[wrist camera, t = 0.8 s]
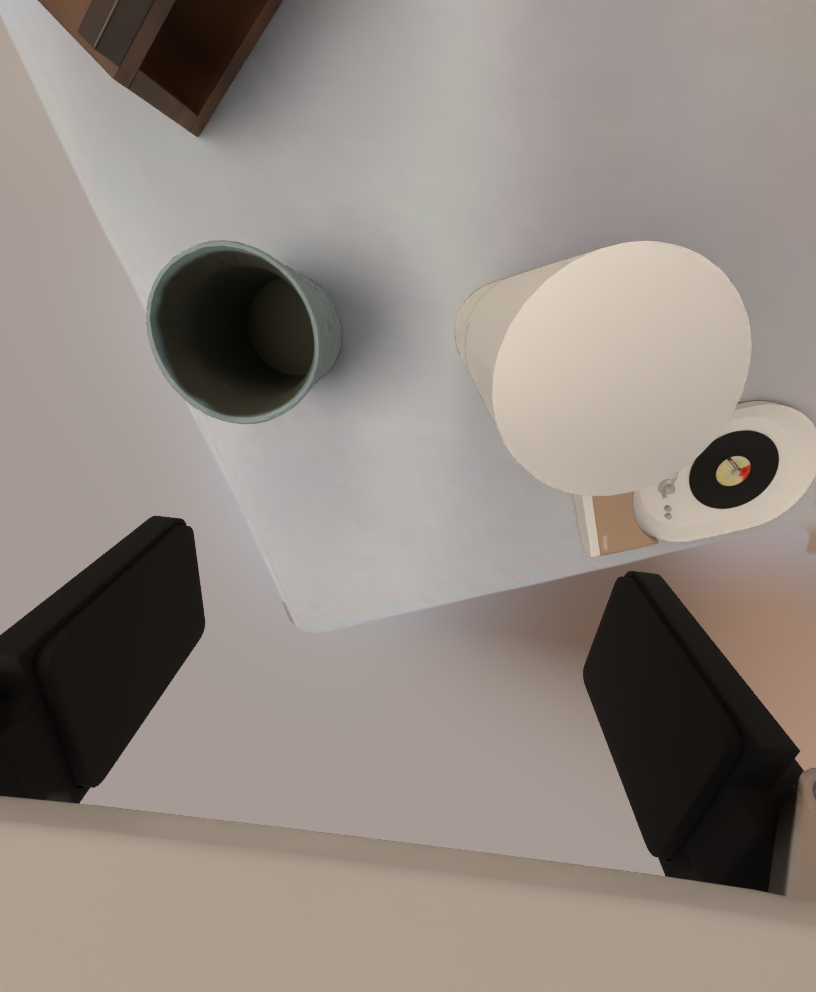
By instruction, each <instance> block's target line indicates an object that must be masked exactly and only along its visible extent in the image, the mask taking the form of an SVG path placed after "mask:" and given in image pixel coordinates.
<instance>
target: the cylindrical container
mask: <svg viewBox="0 0 816 992" xmlns="http://www.w3.org/2000/svg"><path fill="white" fill-rule="evenodd" d="M455 339H456V345H457V347H458V350H459V353H460V355H461V357H462V359H463V361H464V362H465V365H466V367H467V369H468V371H469V373H470V375H471V377H472V379H473V381H474V383H475V385H476V387H477V389H478V391H479V393H480V395H481V397H482V399H483V401H484V403H485V405H486V407H487V409H488V411H489V413H490V415H491V417H492V419H493V421H494V423H495V425H496V427H497V429H498V431H499V433H500V435H501V437H502V440H503V441H504V443H505V444H506V446H507V448H508V449H509V451H510V452H511V454H512V455H513V457H514V458H515V460H516V461H517V462H518V463H519V464H520V465H521V466H523V467H524V468H525V469H526V470H527V471H528V472H529V473H530V474H531V475H532V476H534V477H536V478H537V479H539V480H541V481H542V482H544V483H545V484H547V485H549V486H551V487H554V488H557V489H560V490H562V491H565V492H568V493H574V494H580V495H586V496H611V495H617V494H623V493H629V492H633V491H636V490H639V489H642V488H645V487H648V486H651V485H654V484H656V483H658V482H660V481H661V480H663V479H665V478H667V477H669V476H671V475H673V474H675V473H676V472H678V471H679V470H681V469H682V468H683V467H685V466H686V465H687V464H689V463H690V462H691V461H693V460H694V459H695V458H697V457H698V456H699V455H700V454H701V453H702V452H703V451H704V450H705V449H706V448H707V447H708V446H709V445H710V444H711V443H712V441H713V440H714V439H715V438H716V437H717V436H718V435H719V433H720V432H721V430H722V429H723V427H724V426H725V425H726V423H727V422H728V420H729V419H730V417H731V416H732V414H733V412H734V410H735V408H736V406H737V404H738V402H739V400H740V397H741V395H742V393H743V390H744V387H745V383H746V380H747V376H748V373H749V368H750V358H751V347H752V341H751V333H750V325H749V318H748V315H747V312H746V310H745V307H744V305H743V302H742V299H741V297H740V294H739V292H738V291H737V290H736V288H735V287H734V285H733V284H732V283H731V281H730V280H729V279H728V277H727V276H726V275H725V273H724V272H723V271H722V270H721V269H719V268H718V267H717V266H715V265H714V264H713V263H712V262H710V261H709V260H708V259H707V258H705V257H704V256H703V255H700V254H698V253H696V252H693V251H691V250H689V249H686V248H684V247H682V246H679V245H674V244H668V243H663V242H657V241H640V242H626V243H621V244H617V245H613V246H609V247H605V248H601V249H597V250H594V251H591V252H588V253H585V254H582V255H578V256H575V257H572V258H569V259H566V260H563V261H559V262H556V263H553V264H550V265H547V266H543V267H540V268H537V269H534V270H531V271H528V272H524V273H521V274H518V275H515V276H512V277H509V278H505V279H502V280H499V281H496V282H493V283H490V284H487V285H485V286H483V287H481V288H479V289H478V290H476V291H475V292H474V293H472V294H471V295H470V296H469V298H468V299H467V300H466V301H465V302H464V304H463V306H462V307H461V309H460V311H459V314H458V316H457V320H456V325H455Z"/></svg>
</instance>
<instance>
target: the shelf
mask: <svg viewBox="0 0 816 992" xmlns="http://www.w3.org/2000/svg"><path fill="white" fill-rule="evenodd" d="M38 1H39V2H40V3H41V4H42V5H43V6H44V7H45V8H46V9H47V10H48V11H49V12H50V13H51V14H52V15H53V16H54V18H55V19H56V20H57V21H58V22H59V23H60V24H61V25H62V26H63V27H64V28H65V29H66V30H67V31H68V32H69V33H70V34H71V35H72V36H73V37H74V38H75V39H76V40H77V41H78V43H79V44H80V45H81V46H82V47H83V48H84V49H85V50H86V51H87V52H88V53H89V54H90V55H91V56H92V57H93V58H94V59H95V60H96V61H97V62H98V63H99V64H100V65H101V66H102V68H103V69H104V70H105V71H106V72H107V73H108V74H109V75H110V76H111V77H112V78H113V79H114V80H116V81H117V82H119V83H120V84H122V85H123V86H124V87H126V88H128V89H129V90H131V91H132V92H133V93H135V94H136V95H138V96H139V97H141V98H142V99H143V100H145V101H146V102H148V103H149V104H151V105H152V106H153V107H155V108H156V109H158V110H159V111H161V112H162V113H164V114H165V115H166V116H168V117H169V118H171V119H172V120H174V121H175V122H176V123H178V124H179V125H181V126H182V127H184V128H185V129H186V130H188V131H189V132H191V133H192V134H194V135H195V136H197V137H198V136H199V134H200V132H201V131H202V129H203V128H204V126H205V124H206V123H207V121H208V120H209V118H210V116H211V115H212V113H213V111H214V110H215V108H216V107H217V105H218V103H219V102H220V100H221V99H222V97H223V95H224V94H225V92H226V91H227V89H228V87H229V86H230V84H231V82H232V81H233V79H234V78H235V76H236V74H237V73H238V71H239V70H240V68H241V66H242V65H243V63H244V61H245V60H246V58H247V57H248V55H249V53H250V52H251V50H252V49H253V47H254V45H255V44H256V42H257V41H258V39H259V37H260V36H261V34H262V32H263V31H264V29H265V28H266V26H267V24H268V23H269V21H270V20H271V18H272V16H273V15H274V13H275V12H276V10H277V8H278V7H279V5H280V3H281V2H282V0H38Z"/></svg>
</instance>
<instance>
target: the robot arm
mask: <svg viewBox="0 0 816 992" xmlns="http://www.w3.org/2000/svg"><path fill="white" fill-rule="evenodd" d="M196 556H197V555H196V548H195V540H194V533H193V530H192V528H191V527H190V526H186V523H185V521H184V520H183V519H180V518H171V517H162V516H153V517H151V518H149V519H148V520H147V521H145V522H144V523H143V524H142V525H141V526H139V527H138V528H136V529H135V530H134V531H133V532H132V533H130V534H129V535H128V536H126V537H125V538H124V539H122V540H121V541H120V542H119V543H118V544H116V545H115V546H114V547H112V548H111V549H110V550H109V551H107V552H106V553H105V554H103V555H102V556H101V557H100V558H98V559H97V560H96V561H95V562H93V563H92V564H91V565H89V566H88V567H87V568H86V569H84V570H83V571H82V572H80V573H79V574H78V575H77V576H75V577H74V578H73V579H72V580H70V581H69V582H68V583H66V584H65V585H64V586H63V587H61V588H60V589H59V590H57V591H56V592H55V593H54V594H53V595H51V596H50V597H49V598H47V599H46V600H45V601H43V602H42V603H41V604H40V605H38V606H37V607H36V608H34V609H33V610H32V611H31V612H29V613H28V614H27V615H26V616H24V617H23V618H22V619H21V620H19V621H18V622H17V623H15V624H14V625H13V626H12V627H10V628H9V629H8V630H6V631H5V632H4V633H3V634H1V635H0V992H816V768H811V769H808V770H806V771H804V770H803V769H802V768H801V766H800V765H799V764H798V762H796V760H795V757H796V756H797V754H798V753H799V752H800V751H799V749H798V748H797V746H796V745H795V744H794V743H793V741H792V740H791V739H790V738H789V736H788V735H787V734H786V733H785V731H784V730H783V729H782V728H781V726H780V725H779V724H778V722H777V721H776V720H775V719H774V718H773V716H772V715H771V714H770V712H769V711H768V710H767V709H766V707H765V706H764V705H763V704H762V702H761V701H760V700H759V699H758V697H757V696H756V695H755V694H754V692H753V691H752V690H751V689H750V687H749V686H748V685H747V684H746V682H745V681H744V680H743V679H742V677H741V676H740V675H739V674H738V672H737V671H736V670H735V668H734V667H733V666H732V665H731V663H730V662H729V661H728V660H727V658H726V657H725V656H724V655H723V653H722V652H721V651H720V650H719V649H718V647H717V646H716V645H715V643H714V642H713V641H712V640H711V639H710V637H709V636H708V635H707V633H706V632H705V631H704V630H703V628H702V627H701V626H700V625H699V623H698V622H697V621H696V619H695V618H694V617H693V616H692V614H691V613H690V612H689V611H688V610H687V608H686V607H685V606H684V604H683V603H682V602H681V601H680V599H679V598H678V597H677V596H676V594H675V593H674V592H673V591H672V589H671V588H670V587H669V586H668V584H667V583H666V582H665V581H664V579H663V578H662V577H661V576H660V575H658V574H652V573H644V572H635V571H629V572H627V573H626V574H625V576H624V577H619V578H618V579H617V580H616V582H615V584H614V587H613V590H612V592H611V596H610V598H609V600H608V603H607V606H606V609H605V611H604V614H603V617H602V619H601V622H600V625H599V627H598V630H597V633H596V635H595V638H594V641H593V644H592V646H591V649H590V652H589V654H588V657H587V660H586V662H585V665H584V669H583V679H584V683H585V686H586V689H587V692H588V694H589V697H590V700H591V702H592V705H593V707H594V710H595V712H596V715H597V718H598V721H599V723H600V726H601V728H602V731H603V734H604V736H605V739H606V742H607V744H608V747H609V749H610V752H611V755H612V757H613V760H614V763H615V765H616V768H617V770H618V773H619V776H620V778H621V781H622V783H623V786H624V789H625V792H626V794H627V797H628V799H629V802H630V805H631V807H632V810H633V812H634V815H635V818H636V820H637V823H638V825H639V828H640V831H641V833H642V836H643V839H644V841H645V844H646V846H647V848H648V850H649V852H650V853H651V854H652V855H653V856H654V857H658V858H659V861H660V863H661V866H662V868H663V871H664V873H665V876H666V877H665V876H659V875H651V874H645V873H638V872H630V871H623V870H614V869H607V868H599V867H592V866H584V865H576V864H569V863H560V862H553V861H545V860H538V859H530V858H522V857H514V856H507V855H499V854H492V853H483V852H476V851H468V850H460V849H452V848H444V847H436V846H428V845H420V844H412V843H404V842H396V841H388V840H380V839H372V838H364V837H356V836H348V835H339V834H331V833H323V832H315V831H307V830H299V829H291V828H282V827H274V826H266V825H258V824H249V823H241V822H233V821H224V820H215V819H207V818H199V817H190V816H182V815H173V814H165V813H156V812H148V811H139V810H131V809H122V808H114V807H105V806H97V805H86V804H79V803H80V801H81V800H82V799H83V797H84V796H85V794H86V793H87V791H88V790H89V789H90V787H93V788H94V787H96V786H98V785H99V784H100V783H101V782H102V781H103V780H104V779H105V777H106V776H107V774H108V773H109V771H110V770H111V768H112V767H113V766H114V764H115V762H116V761H117V760H118V758H119V757H120V755H121V754H122V752H123V751H124V749H125V748H126V747H127V745H128V743H129V742H130V741H131V739H132V738H133V736H134V735H135V733H136V732H137V730H138V729H139V728H140V726H141V725H142V723H143V722H144V720H145V719H146V717H147V716H148V714H149V713H150V711H151V710H152V708H153V707H154V706H155V704H156V703H157V701H158V700H159V698H160V697H161V695H162V694H163V692H164V691H165V690H166V688H167V687H168V685H169V684H170V682H171V681H172V679H173V678H174V676H175V675H176V673H177V672H178V670H179V669H180V668H181V666H182V665H183V663H184V662H185V660H186V659H187V657H188V656H189V654H190V653H191V651H192V650H193V648H194V647H195V646H196V644H197V643H198V641H199V640H200V638H201V636H202V634H203V632H204V628H205V617H204V609H203V601H202V593H201V586H200V578H199V571H198V563H197V557H196Z"/></svg>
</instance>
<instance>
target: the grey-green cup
mask: <svg viewBox="0 0 816 992" xmlns="http://www.w3.org/2000/svg"><path fill="white" fill-rule="evenodd" d="M146 323H147V332H148V338H149V342H150V346H151V349H152V352H153V355H154V358H155V360H156V362H157V364H158V366H159V368H160V370H161V371H162V373H163V375H164V376H165V378H166V379H167V381H168V382H169V383H170V385H171V386H172V387H173V388H174V389H175V390H176V391H177V393H179V394H180V395H181V397H182V398H183V399H184V400H185V401H187V402H188V403H189V404H191V405H192V406H193V407H195V408H196V409H198V410H200V411H202V412H203V413H205V414H207V415H209V416H212V417H214V418H217V419H219V420H223V421H226V422H231V423H238V424H256V423H261V422H266V421H269V420H271V419H274V418H276V417H278V416H280V415H282V414H284V413H286V412H287V411H289V410H291V409H292V408H293V407H294V406H296V405H297V404H298V403H299V402H300V400H301V399H302V398H303V397H304V396H305V395H306V393H307V392H308V391H309V390H310V388H311V387H312V386H313V385H314V384H315V383H317V381H318V379H320V378H321V377H323V376H324V375H325V374H326V373H327V372H328V371H329V370H330V368H331V367H332V366H333V364H334V363H335V361H336V359H337V357H338V355H339V352H340V348H341V343H342V328H341V322H340V318H339V315H338V312H337V310H336V307H335V306H334V304H333V302H332V301H331V299H330V298H329V296H328V295H327V294H326V293H325V291H324V290H323V289H321V288H320V287H319V286H318V285H317V284H316V283H314V282H313V281H311V280H309V279H308V278H306V277H304V276H303V275H301V274H300V273H298V272H296V271H294V270H293V269H291V268H290V267H288V266H285V265H284V264H282V263H280V262H279V261H278V260H276V259H275V258H273V257H271V256H270V255H268V254H267V253H265V252H263V251H261V250H259V249H257V248H255V247H252V246H249V245H245V244H242V243H239V242H231V241H209V242H205V243H201V244H198V245H195V246H193V247H192V248H190V249H188V250H186V251H184V252H183V253H181V254H179V255H177V256H175V257H173V259H172V260H171V261H170V262H169V263H168V264H167V265H166V266H165V267H164V268H163V269H162V270H161V271H160V273H159V275H158V277H157V278H156V280H155V282H154V284H153V287H152V290H151V292H150V295H149V299H148V304H147V322H146Z"/></svg>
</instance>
